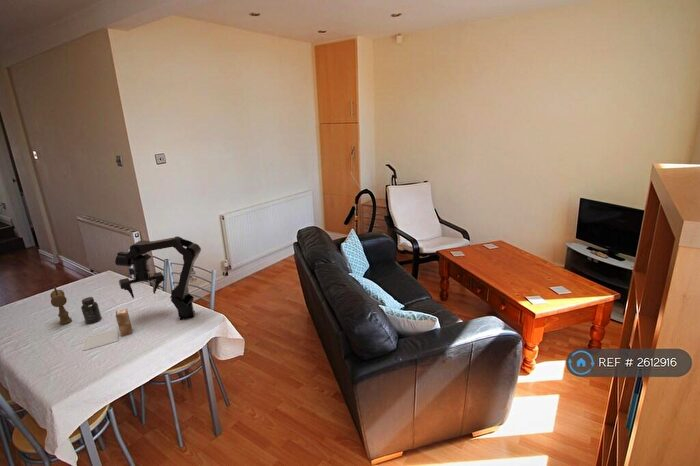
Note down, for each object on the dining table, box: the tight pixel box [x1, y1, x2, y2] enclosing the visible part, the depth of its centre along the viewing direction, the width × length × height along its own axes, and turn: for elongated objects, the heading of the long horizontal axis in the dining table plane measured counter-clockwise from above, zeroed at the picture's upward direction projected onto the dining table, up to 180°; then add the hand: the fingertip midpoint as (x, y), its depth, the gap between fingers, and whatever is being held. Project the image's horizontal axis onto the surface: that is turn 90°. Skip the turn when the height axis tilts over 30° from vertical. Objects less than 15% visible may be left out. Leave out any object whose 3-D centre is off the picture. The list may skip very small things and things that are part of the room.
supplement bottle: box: [80, 296, 102, 325], centre depth 181 cm, size 7×7×12 cm
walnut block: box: [115, 308, 133, 337], centre depth 170 cm, size 4×4×11 cm
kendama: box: [50, 286, 73, 325], centre depth 179 cm, size 6×10×20 cm, turn 41°
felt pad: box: [82, 327, 120, 352], centre depth 167 cm, size 13×12×1 cm
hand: (143, 295), depth 181 cm, fingers open, 9 cm apart
